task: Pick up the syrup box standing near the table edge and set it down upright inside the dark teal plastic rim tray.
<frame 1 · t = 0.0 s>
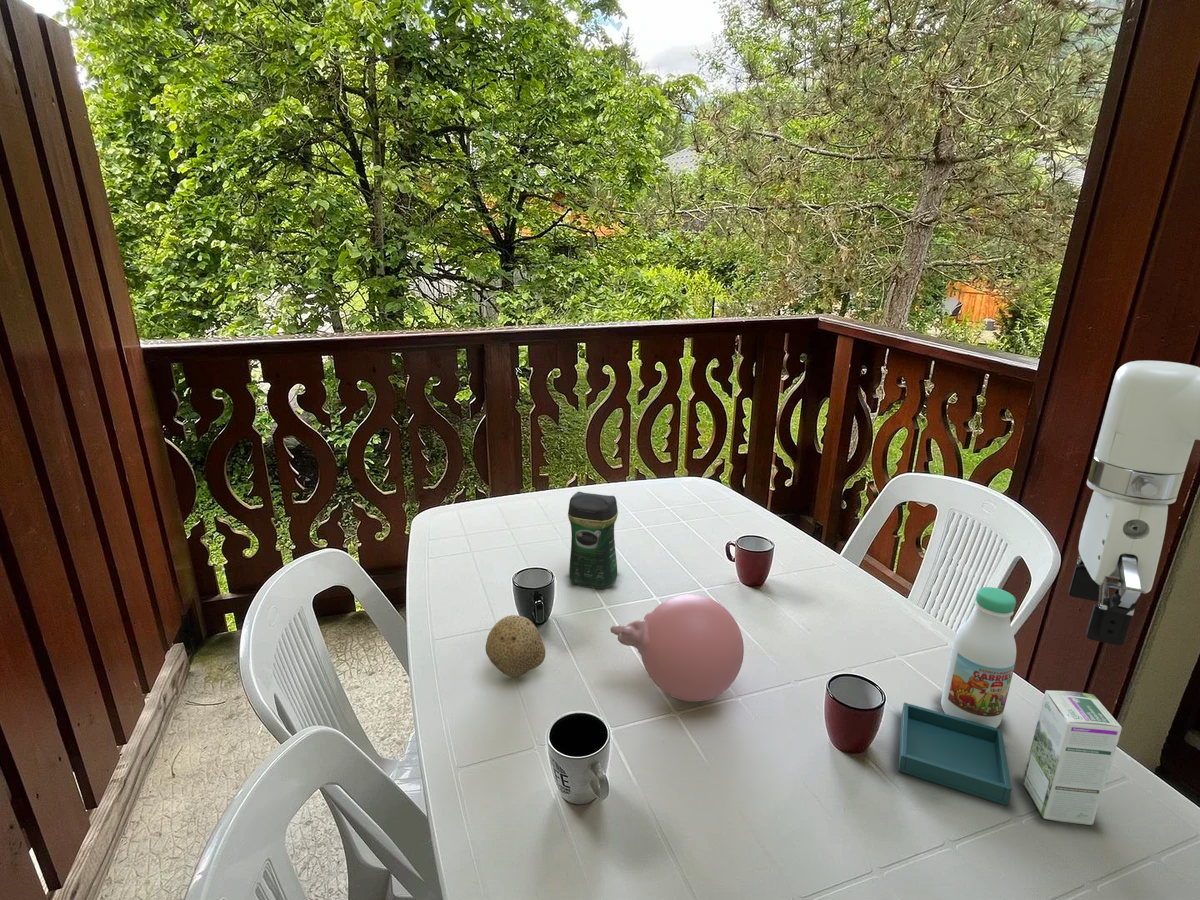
hand: (1093, 618, 73), 25 cm above the table, tool pointing down, fingers open, 9 cm apart
milk bottle: (969, 715, 93), on the table
coffee jar: (593, 580, 130), on the table
balloon: (673, 688, 98), on the table
syrup box: (1054, 804, 78), on the table
tray: (949, 757, 85), on the table
natural sponge: (514, 673, 102), on the table
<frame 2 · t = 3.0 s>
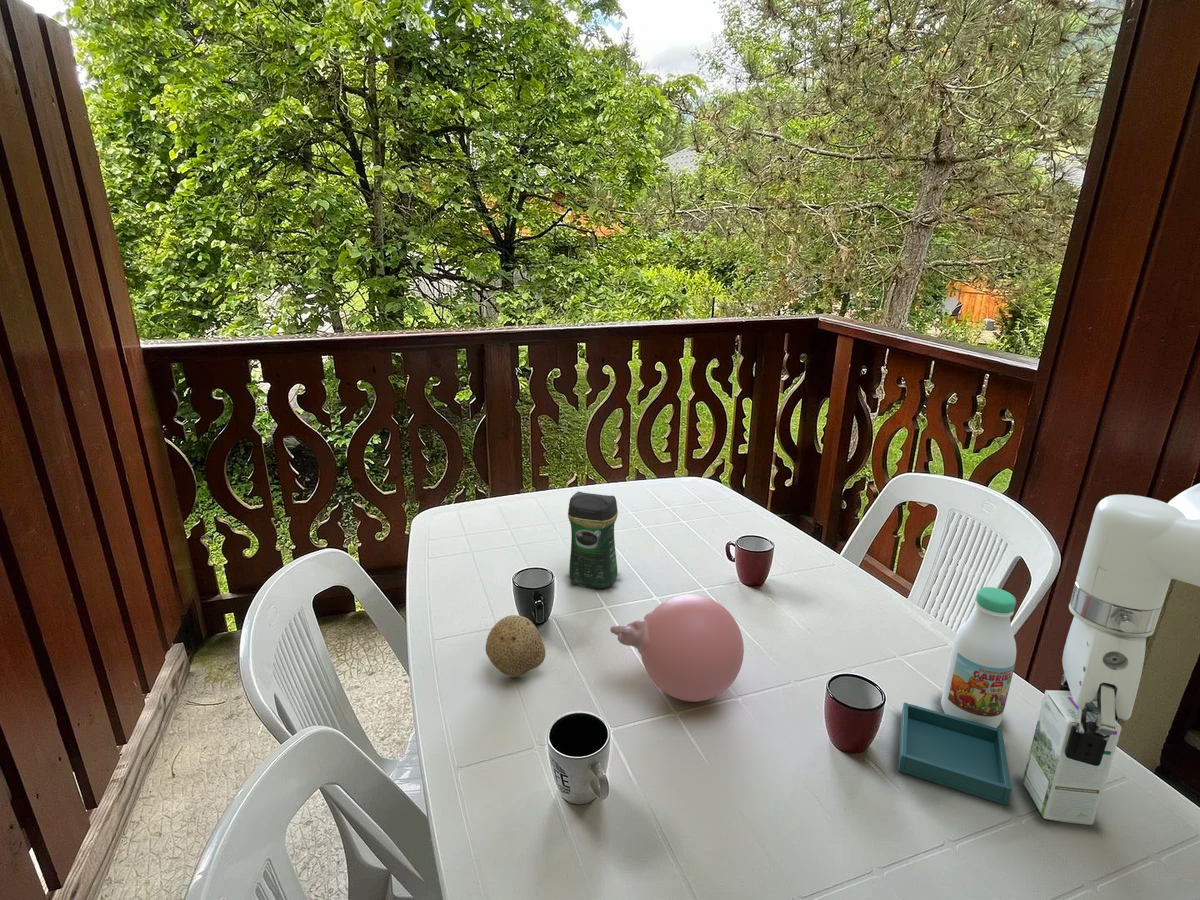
hand: (1074, 737, 75), 10 cm above the table, tool pointing down, fingers closed on syrup box, 6 cm apart
syrup box: (1054, 804, 78), on the table, touching gripper
everything else where it was.
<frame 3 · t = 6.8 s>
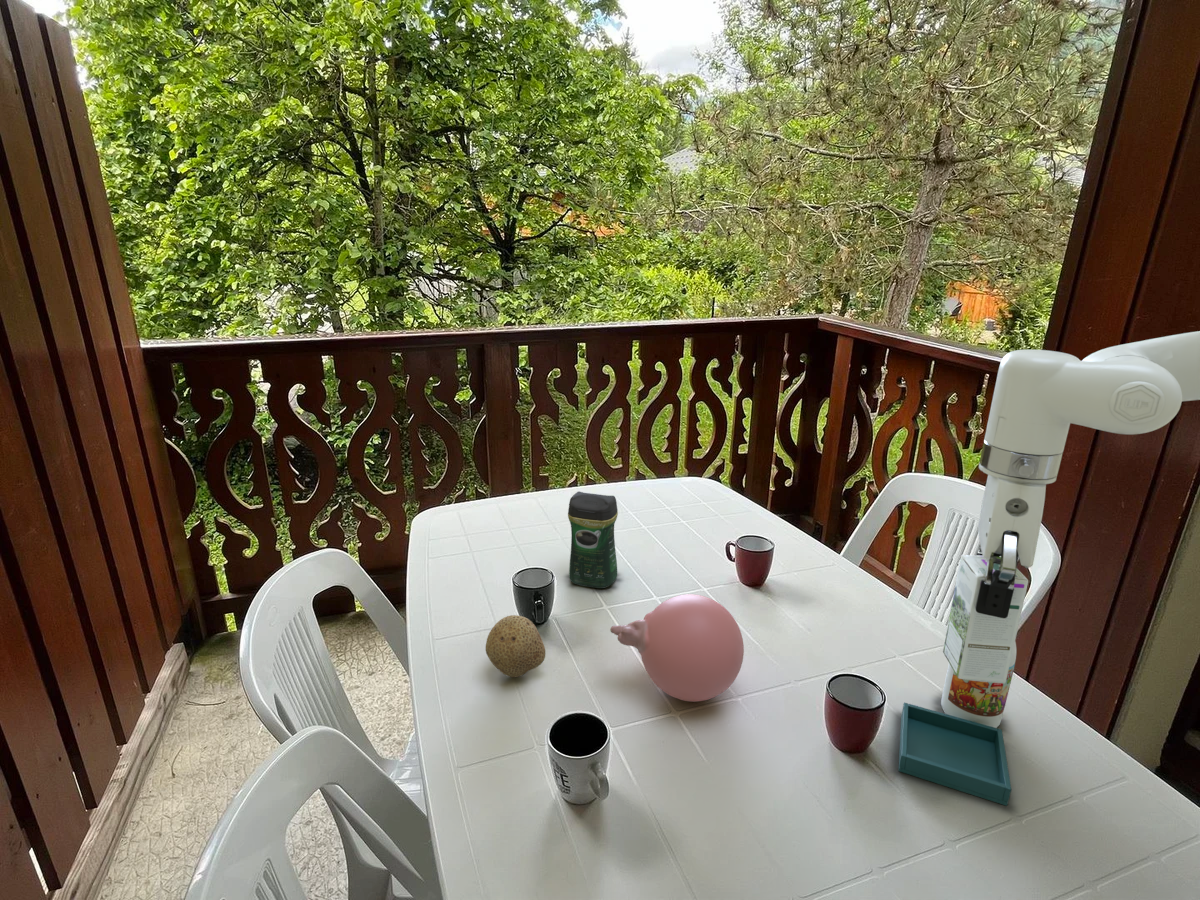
hand: (988, 597, 77), 25 cm above the table, tool pointing down, fingers closed on syrup box, 6 cm apart
syrup box: (972, 669, 81), point 14 cm above the table, touching gripper
everything else where it was.
when the fingers open (11 cm above the table, at t = 10.4 s): syrup box stays where it is, resting on tray.
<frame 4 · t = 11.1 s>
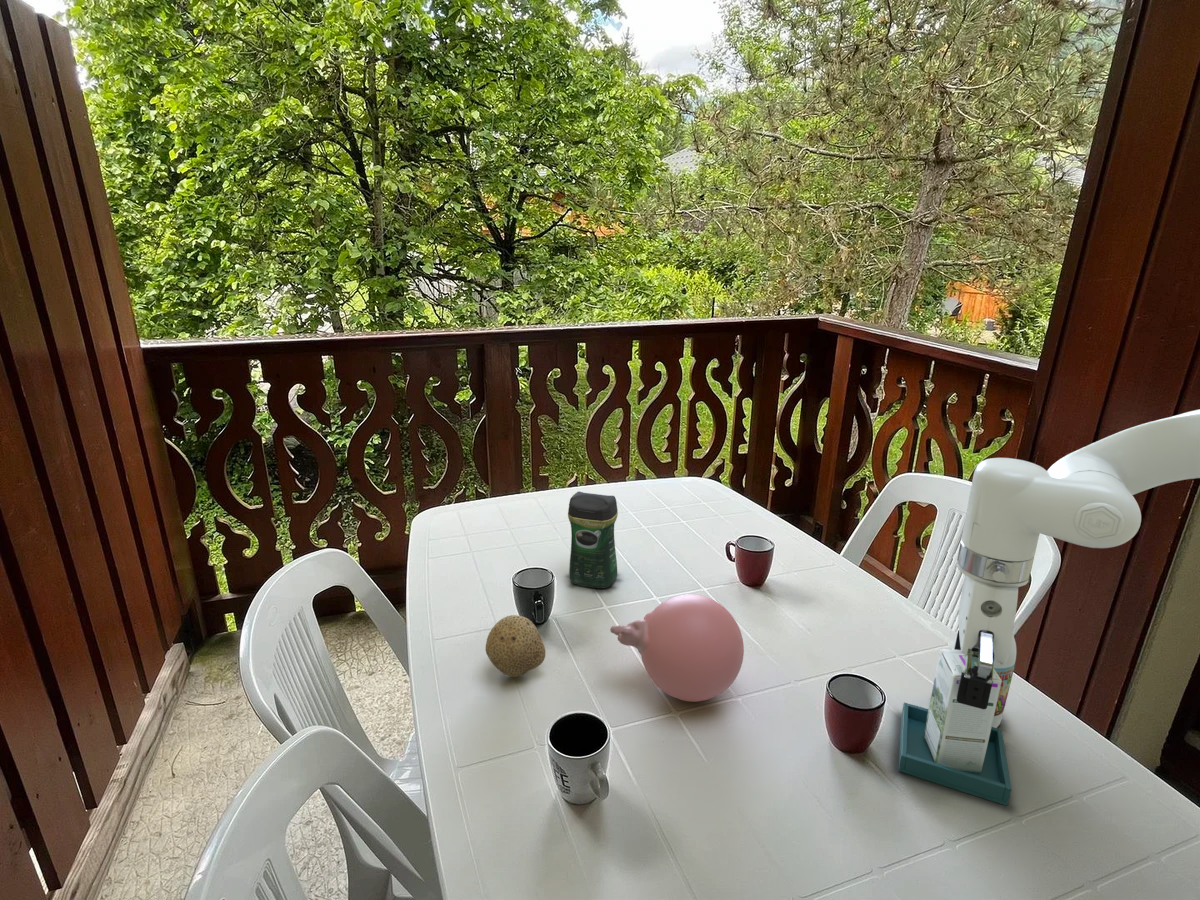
hand: (968, 681, 81), 12 cm above the table, tool pointing down, fingers open, 9 cm apart
syrup box: (950, 755, 85), resting on tray
everything else where it was.
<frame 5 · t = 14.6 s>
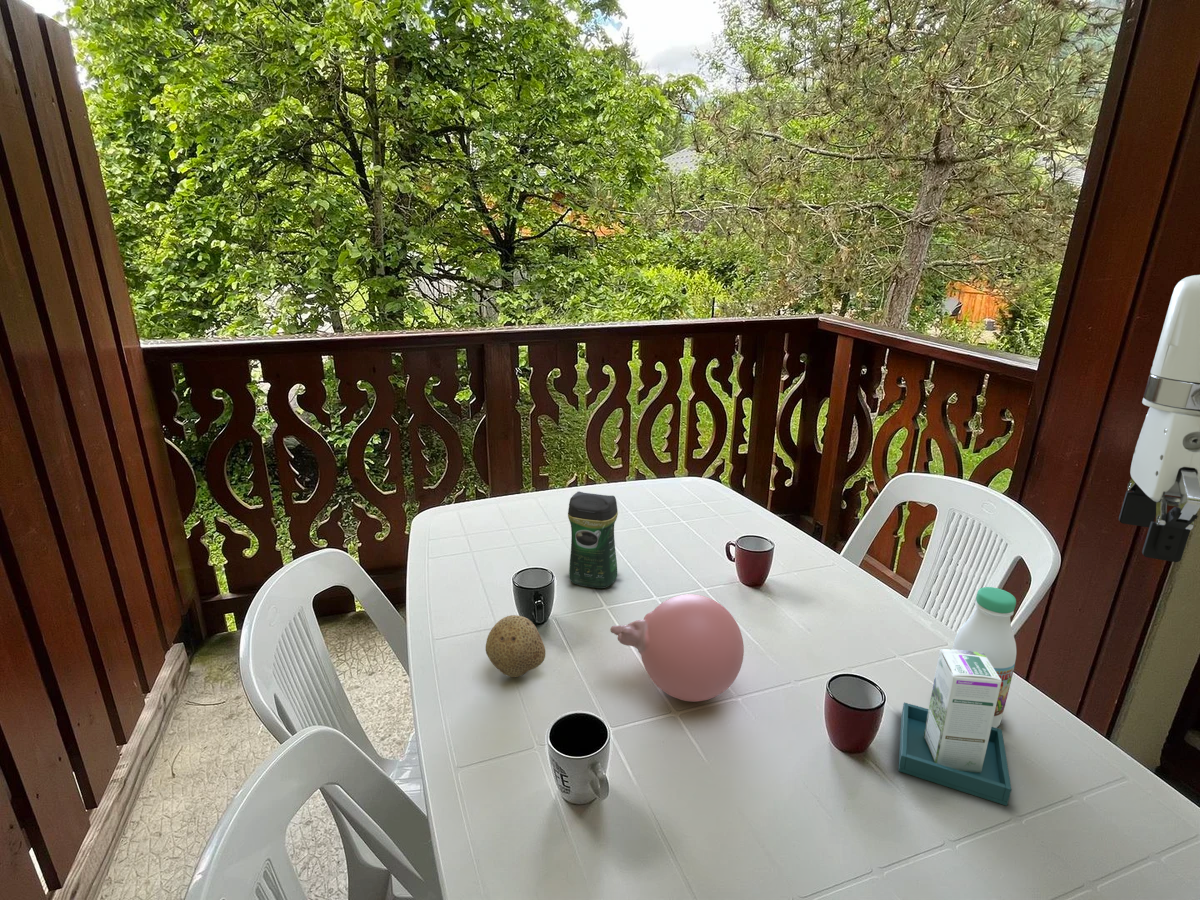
hand: (1146, 540, 73), 33 cm above the table, tool pointing down, fingers open, 9 cm apart
nothing on the table moved.
at the end: syrup box inside the target area in the tray (0.1 cm from its centre), point 0.4 cm above the tray's base; syrup box tilted 0°; the gripper is holding nothing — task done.
